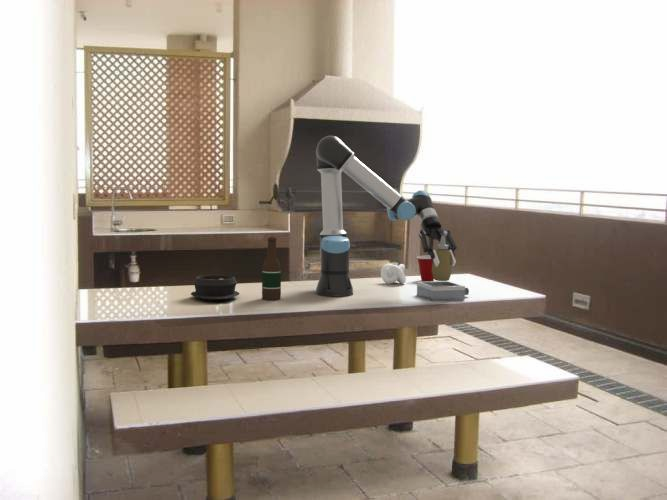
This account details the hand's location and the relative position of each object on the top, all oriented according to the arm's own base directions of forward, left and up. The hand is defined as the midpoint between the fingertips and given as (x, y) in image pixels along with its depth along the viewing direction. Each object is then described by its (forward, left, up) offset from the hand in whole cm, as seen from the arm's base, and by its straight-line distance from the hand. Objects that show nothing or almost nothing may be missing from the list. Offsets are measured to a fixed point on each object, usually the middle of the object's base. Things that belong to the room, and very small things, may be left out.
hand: (445, 264), depth 269 cm
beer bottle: (-68, +12, -14) cm, 71 cm away
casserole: (-89, +17, -14) cm, 92 cm away
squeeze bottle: (0, +4, -7) cm, 8 cm away
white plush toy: (-4, +46, -14) cm, 48 cm away
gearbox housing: (+2, +4, -14) cm, 15 cm away
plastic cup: (+16, +52, -14) cm, 56 cm away
